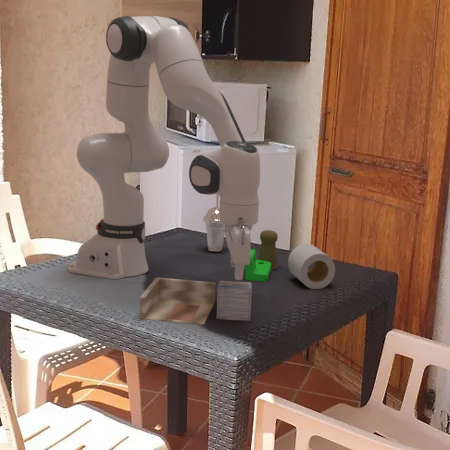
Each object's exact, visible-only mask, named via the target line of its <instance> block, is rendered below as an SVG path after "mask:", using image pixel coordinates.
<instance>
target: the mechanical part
mask: <svg viewBox="0 0 450 450" xmlns="http://www.w3.org/2000/svg"><path fill="white" fill-rule="evenodd" d="M256 250H257V249H251V248H250V263H249V264H248V265H245V270H244V272H245V273H244V275H245V276H244V280H245V281H253V282H254V281H255V282H261V283H262V282H264V283H267V281H268V279H269V276H270V274H271V271H272V270H271V263H270V262H268V261H262V260H258V259H257V251H256Z"/></svg>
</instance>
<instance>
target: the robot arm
mask: <svg viewBox="0 0 450 450" xmlns="http://www.w3.org/2000/svg"><path fill="white" fill-rule="evenodd" d="M105 41H106V46H107V49H108V51H109V53H110V54H109V55H110V56H109V62H108V68H107V79H106V96H105V108H106V110H107V112H108V114H109V116H112V118H114V119H116V120H118V121H119V122H121V123H124V132H107V133H106V132H101V133H96V134H91V135H87V136H83V137H82V139H81V140H80V141H79V143H78V145H77V149H76V158H77V161H78V163H79V165H80V167H81V168H82V169H83V170H84V171H85V172H86V173H87V174H89V175H90V176H91V177H92V178H93V179H94V180H95V182H96V183H97V185H98V186H99V189H100V192H101V195H102V203H103V205H102V206H103V207H102V208H103V218H101V219H100V220H99V222H97V224H96V225H95V231H96V234H95V235H93V236H92V237H91V238H89V239H88V240H86V241H85V242H84V243H82V244H81V245H80V247H79V248H78V250H77V253H76V259H74V260H73V261H71V262H70V263H69V264H68V269H67V270H68V272H69V273H73V274H80V275H85V276H91V277H96V278H104V279H108V280H110V279H111V280H119V279H122V278H129V277H136V276H141V275H143V274H145V273H147V272H148V271H149V265H148V262H147V258H146V251H145V239H146V222H145V220H144V214H145V213H144V203H145V201H144V199H145V198H144V195H143V193H142V192H141V191H140V189H138V188H137V187H135V186H133V185H131V184H129V183H127V182H126V179H125V174H126V173H127V174H130V173H147V172H148V173H149V172H152V171H156V170H160V169H162V168H164V167H165V165H166V164H167V162H168V160H169V156H170V148H169V145H168V142H167V141H166V139H165V137H163V136H162V135H161V134H160V133H159V132H158V131H157V130H156V128H155V126H154V125H153V123H152V121H151V117H150V113H149V95H150V94H149V91H150V73H151V71H150V70H151V67H152V64H153V63H155V67H156V72H157V75H158V78H159V82H160V85H161V87H162V90H163V93H164V95H165V96H166V99H168V101H169V102H170V103H171V104H173V105H174V106H176V107H178V108H180V109H182V110H185V111H188V112H190V113H194V114H196V115H197V116H199V117H201V118H203V119H205V120H206V121H207V122H208V124H209V125H210V126H211V128H212V130H213V132H214V134H215V136H216V139H217V141H218V144H219V146H220V148H218V149H216V150H215V149H214V150H213V151H210V152H206V153H202V154H198V155H197V156H195V157H193V159H192V161H191V163H190V165H189V169H188V177H189V181H190V185H191V186H192V188H193V189H194V190H195V191H196V192H197V193H198V194H201V195H207V196H208V195H209V196H211V195H217V194H219V208H220V211H219V221H220V222H221V223H224V224H225V225H224V228H225V235H224V237H225V241H226V244H227V245H226V246H227V248H228V250H229V254H230V267H231V268H234V275H233V276H234V279H235V281H242V280H244V279H243V278H244V272H245V268H246V265H248V264H249V263H250V249H251V247H252V246H251V244H252V243H251V240H252V239H251V231H252V230H253V226H254V225H256V224H258V223H259V206H260V205H259V204H260V200H259V195H258V191H259V188H260V185H261V159H260V158H261V157H260V154H259V153H260V152H259V150H258V148H257V146H255V145H254V144H251V143H249V142H246V140H245V137H244V136H243V133H242V131H241V128H240V127H239V125H238V124H239V123H238V122H237V119H236V117H235V115H234V113H233V111H232V109H231V107H230V105H229V103H228V100H227V99H226V97H225V96H224V95H223V93H222V92H221V91H220V90H219V89H218V88H217V86H216V85H215V84H214V82H213V81H212V79H211V77H210V76H209V74H208V72H207V69H206V67H205V64H204V61H203V59H202V55H201V53H200V51H199V48H198V46H197V43H196V42H195V40H194V38H193V36H192V34H191V32H190V29H189V27H188V25H187V23H185V22H184V21H183V20H180V19H178V18H175V17H164V16H161V15H146V16H144V15H139V16H138V15H137V16H129V15H124V16H123V15H122V16H119V17H116V18H114V19H112V20H111V21H110V23H109V24H108V26H107V30H106V34H105Z"/></svg>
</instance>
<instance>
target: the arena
mask: <svg viewBox="0 0 450 450" xmlns="http://www.w3.org/2000/svg"><path fill="white" fill-rule="evenodd" d="M215 302H216V282H213V281H203V280H191V279H179V278H178V279H177V278H168V277H158V276H156V277H155V278H154V280H153V281H151V283H150V285H148V287H147V288H146V289H145V291H144V292H143V293H142V294H141V296H140V297H139V319H140V318H142V319H141V320H145V319H151V320H150V321H156V320H159V321H158V322H167V321H169V322H170V323H177V322H179V324H187V325H189V324H191V325H200V326H201V325H203V326H205V324H206V322H207V320H208V317H209V316H210V313H211V311H212V309H213V308H214V306H215ZM169 322H168V323H169Z"/></svg>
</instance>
